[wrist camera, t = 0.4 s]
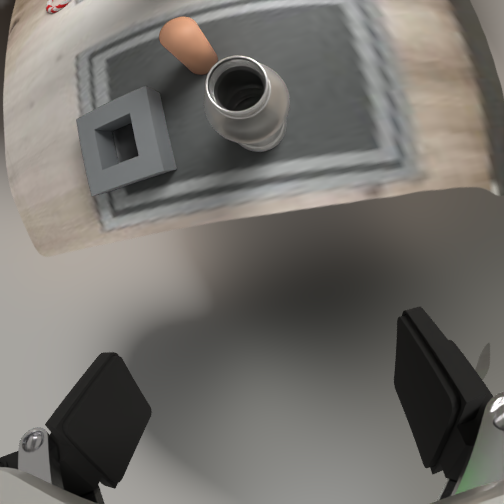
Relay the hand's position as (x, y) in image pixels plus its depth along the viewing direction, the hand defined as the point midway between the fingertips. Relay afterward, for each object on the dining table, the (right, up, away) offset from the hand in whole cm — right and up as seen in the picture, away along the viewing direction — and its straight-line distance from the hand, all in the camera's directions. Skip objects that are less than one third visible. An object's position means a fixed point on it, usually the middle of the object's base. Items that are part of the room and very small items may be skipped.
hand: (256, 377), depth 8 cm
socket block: (-16, +19, +26) cm, 36 cm away
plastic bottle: (+1, +19, +25) cm, 31 cm away
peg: (-6, +28, +22) cm, 37 cm away
